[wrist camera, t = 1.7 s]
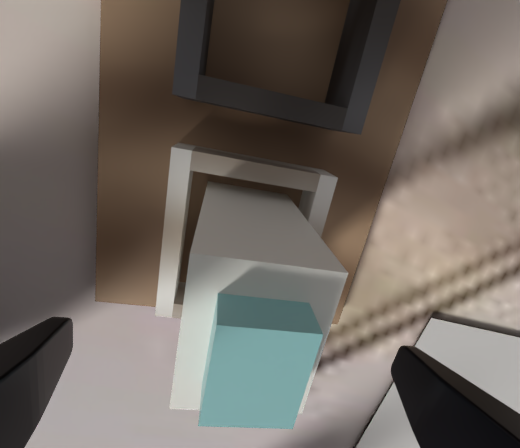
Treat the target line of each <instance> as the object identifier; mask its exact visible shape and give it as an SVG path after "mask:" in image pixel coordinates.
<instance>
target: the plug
mask: <svg viewBox="0 0 520 448" xmlns="http://www.w3.org/2000/svg"><path fill="white" fill-rule="evenodd" d="M347 276H348V272H347V271H346V269H345V268H344V267H343V266H342V264H341V263H340V262H339V260H338V259H337V258H336V257H335V255H334V254H333V253H332V251H331V250H330V249H329V248H328V246H327V245H326V244H325V242H324V241H323V240H322V239H321V237H320V236H319V235H318V233H317V232H316V231H315V230H314V228H313V227H312V226H311V225H310V223H309V222H308V221H307V219H306V218H305V217H304V216H303V214H302V213H301V212H300V210H299V209H298V208H297V207H296V205H295V204H294V203H293V201H292V200H291V199H290V198H289V196H288V195H287V194H281V193H275V192H269V191H263V190H258V189H252V188H246V187H240V186H234V185H228V184H222V183H216V182H210V181H208V183H207V187H206V191H205V195H204V199H203V203H202V207H201V211H200V215H199V219H198V223H197V227H196V231H195V235H194V239H193V243H192V247H191V251H190V256H189V264H188V271H187V279H186V286H185V294H184V301H183V309H182V316H181V324H180V332H179V339H178V347H177V354H176V362H175V369H174V377H173V384H172V392H171V400H170V407H169V409H183V410H200V413H199V424H198V426H212V427H246V428H280V429H293V426H294V423H295V420H296V417H297V414H302V412H303V409H304V406H305V403H306V400H307V397H308V394H309V391H310V388H311V384H312V381H313V378H314V375H315V372H316V369H317V366H318V363H319V360H320V357H321V354H322V351H323V348H324V345H325V342H326V339H327V336H328V333H329V330H330V327H331V324H332V321H333V318H334V315H335V312H336V309H337V306H338V303H339V300H340V297H341V294H342V291H343V288H344V285H345V282H346V279H347Z"/></svg>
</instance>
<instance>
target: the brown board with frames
mask: <svg viewBox="0 0 520 448" xmlns="http://www.w3.org/2000/svg"><path fill="white" fill-rule="evenodd" d="M446 3H447V0H101V32H100V83H99V135H98V186H97V237H96V288H95V301H99V302H109V303H120V304H130V305H141V306H151V307H156V310H155V316H159V317H170V318H181V316H182V309H183V301H184V294H185V286H186V279H187V271H188V264H189V256H190V251H191V247H192V243H193V239H194V235H195V231H196V227H197V223H198V219H199V215H200V211H201V207H202V203H203V199H204V195H205V191H206V187H207V183H208V181H210V182H216V183H222V184H228V185H234V186H240V187H246V188H252V189H258V190H263V191H269V192H275V193H281V194H287V195H288V196H289V198H290V199H291V200H292V201H293V203H294V204H295V205H296V207H297V208H298V209H299V210H300V212H301V213H302V214H303V216H304V217H305V218H306V219H307V221H308V222H309V223H310V225H311V226H312V227H313V228H314V230H315V231H316V232H317V233H318V235H319V236H320V237H321V239H322V240H323V241H324V242H325V244H326V245H327V246H328V248H329V249H330V250H331V251H332V253H333V254H334V255H335V257H336V258H337V259H338V260H339V262H340V263H341V264H342V266H343V267H344V268H345V269H346V271H347V272H348V276H347V279H346V282H345V285H344V288H343V291H342V294H341V297H340V300H339V303H338V306H337V309H336V312H335V315H334V318H333V321H332V324H338V322H339V319H340V316H341V313H342V310H343V307H344V304H345V301H346V298H347V295H348V292H349V289H350V286H351V283H352V280H353V277H354V274H355V271H356V268H357V266H358V263H359V260H360V257H361V254H362V251H363V248H364V245H365V242H366V239H367V236H368V233H369V230H370V227H371V224H372V221H373V218H374V215H375V212H376V210H377V207H378V204H379V201H380V198H381V195H382V192H383V189H384V186H385V183H386V180H387V177H388V174H389V171H390V168H391V165H392V162H393V159H394V156H395V154H396V151H397V148H398V145H399V142H400V139H401V136H402V133H403V130H404V127H405V124H406V121H407V118H408V115H409V112H410V109H411V106H412V103H413V100H414V98H415V95H416V92H417V89H418V86H419V83H420V80H421V77H422V74H423V71H424V68H425V65H426V62H427V59H428V56H429V53H430V50H431V47H432V44H433V42H434V39H435V36H436V33H437V30H438V27H439V24H440V21H441V18H442V15H443V12H444V9H445V6H446Z"/></svg>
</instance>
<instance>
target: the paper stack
mask: <svg viewBox="0 0 520 448" xmlns="http://www.w3.org/2000/svg"><path fill="white" fill-rule="evenodd" d="M415 347H417V348H419V349H420V350H422V351H423V352H425V353H426V354H428V355H429V356H431V357H433V358H434V359H436V360H437V361H439V362H440V363H442V364H443V365H445V366H446V367H448V368H450V369H451V370H453V371H454V372H456V373H457V374H459V375H460V376H462V377H464V378H465V379H467V380H468V381H470V382H471V383H473V384H474V385H476V386H477V387H479V388H481V389H482V390H484V391H485V392H487V393H488V394H490V395H491V396H493V397H494V398H496V399H498V400H499V401H501V402H502V403H504V404H505V405H507V406H508V407H510V408H512V409H513V410H515V411H516V412H518V413H519V414H520V337H515V336H511V335H506V334H502V333H497V332H493V331H488V330H484V329H479V328H475V327H470V326H466V325H461V324H457V323H452V322H448V321H443V320H439V319H434V318H431V319H430V321H429V323H428V324H427V326H426V328H425V330H424V331H423V333H422V335H421V336H420V338H419V340H418V342H417V343H416V345H415ZM356 448H420V446H419V444H418V442H417V440H416V438H415V435H414V433H413V431H412V428H411V426H410V423H409V421H408V418H407V415H406V413H405V410H404V407H403V405H402V402H401V399H400V397H399V394H398V391H397V388H396V386H395V383H393V384H392V386H391V388H390V390H389V391H388V393H387V395H386V396H385V398H384V400H383V402H382V403H381V405H380V407H379V408H378V410H377V412H376V413H375V415H374V417H373V419H372V420H371V422H370V424H369V425H368V427H367V429H366V431H365V432H364V434H363V436H362V437H361V439H360V441H359V443H358V444H357V446H356Z"/></svg>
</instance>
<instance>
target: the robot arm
mask: <svg viewBox="0 0 520 448" xmlns="http://www.w3.org/2000/svg"><path fill="white" fill-rule="evenodd" d="M72 348H73V322H72V320H71V319H70V318H65V317H51V318H49V319H47V320H45V321H43V322H41V323H40V324H38V325H36V326H34V327H32V328H30V329H28V330H26V331H24V332H22V333H20V334H19V335H17V336H15V337H13V338H11V339H9V340H7V341H5V342H3V343H1V344H0V448H24V447H25V446H26V444H27V442H28V441H29V439H30V437H31V435H32V434H33V432H34V430H35V428H36V427H37V425H38V423H39V421H40V419H41V417H42V415H43V413H44V411H45V409H46V407H47V405H48V403H49V400H50V398H51V396H52V394H53V392H54V390H55V387H56V385H57V383H58V381H59V379H60V377H61V374H62V372H63V370H64V368H65V366H66V364H67V361H68V359H69V357H70V355H71V352H72ZM391 374H392V378H393V380H394V383H395V386H396V388H397V391H398V394H399V397H400V399H401V402H402V405H403V407H404V410H405V413H406V415H407V418H408V421H409V423H410V426H411V428H412V431H413V433H414V435H415V438H416V440H417V442H418V444H419V446H420V448H520V414H519V413H518V412H516V411H515V410H513V409H512V408H510V407H508V406H507V405H505V404H504V403H502V402H501V401H499V400H498V399H496V398H494V397H493V396H491V395H490V394H488V393H487V392H485V391H484V390H482V389H481V388H479V387H477V386H476V385H474V384H473V383H471V382H470V381H468V380H467V379H465V378H464V377H462V376H460V375H459V374H457V373H456V372H454V371H453V370H451V369H450V368H448V367H446V366H445V365H443V364H442V363H440V362H439V361H437V360H436V359H434V358H433V357H431V356H429V355H428V354H426V353H425V352H423V351H422V350H420V349H419V348H417V347H414V346H401V347H400V348H399V350H398V352H397V354H396V357H395V359H394V361H393V364H392V366H391Z"/></svg>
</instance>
